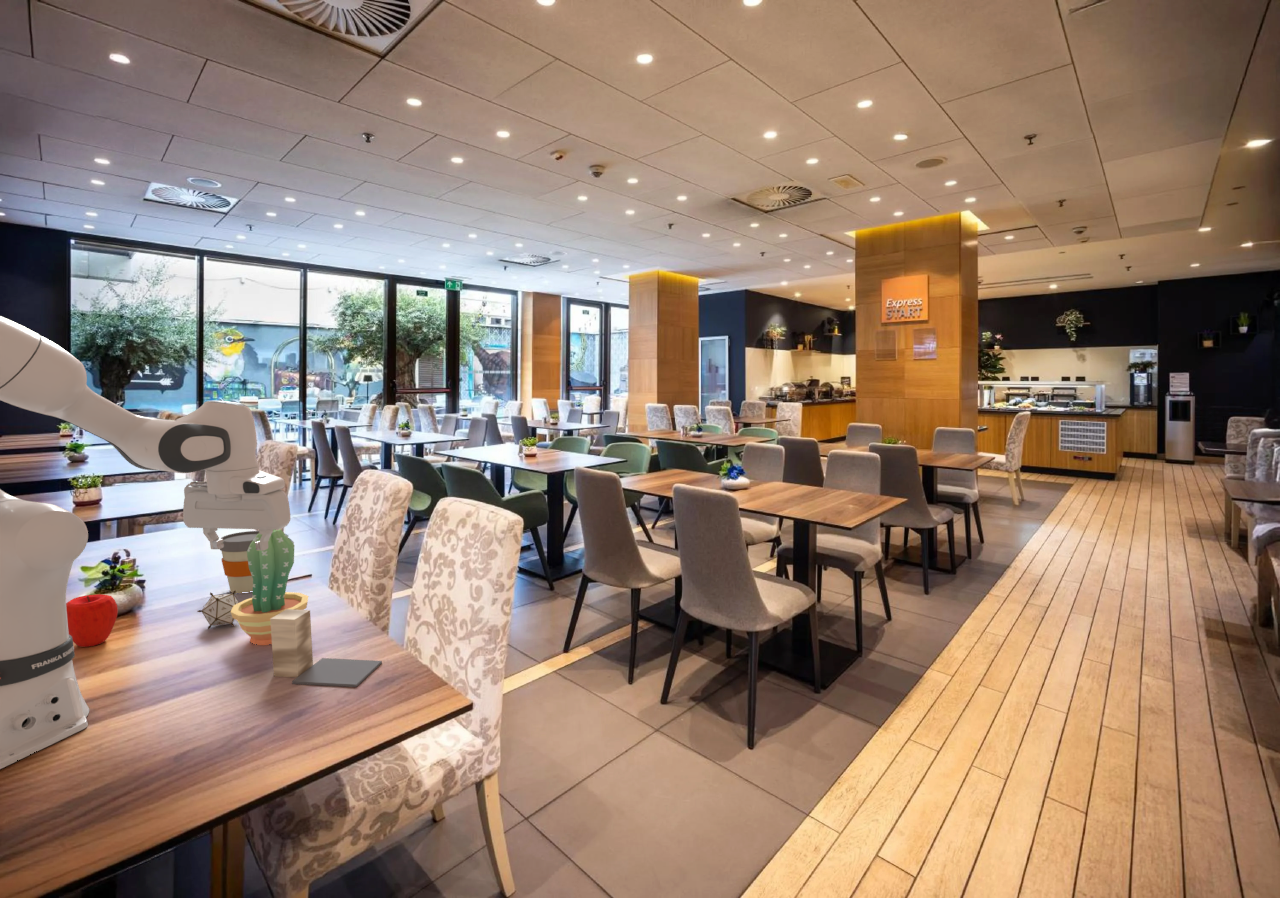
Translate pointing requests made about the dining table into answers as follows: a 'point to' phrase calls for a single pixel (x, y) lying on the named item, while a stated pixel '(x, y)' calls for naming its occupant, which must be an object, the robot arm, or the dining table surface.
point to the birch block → (291, 643)
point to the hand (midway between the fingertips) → (239, 549)
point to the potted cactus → (268, 588)
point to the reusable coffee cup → (238, 560)
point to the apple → (91, 619)
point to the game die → (219, 609)
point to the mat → (337, 672)
